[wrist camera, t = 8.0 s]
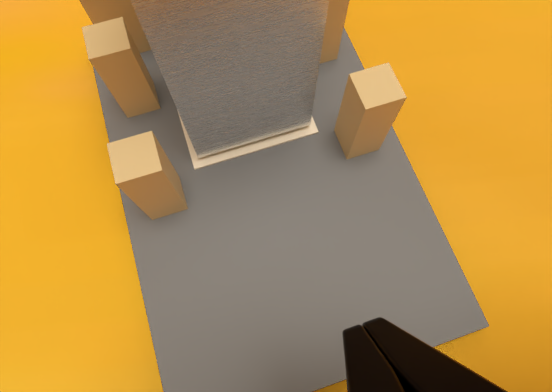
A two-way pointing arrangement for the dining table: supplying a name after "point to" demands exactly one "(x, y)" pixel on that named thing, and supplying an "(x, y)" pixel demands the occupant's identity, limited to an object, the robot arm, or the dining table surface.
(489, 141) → the dining table surface
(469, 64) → the dining table surface
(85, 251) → the dining table surface
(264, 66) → the pillar on grey plate
